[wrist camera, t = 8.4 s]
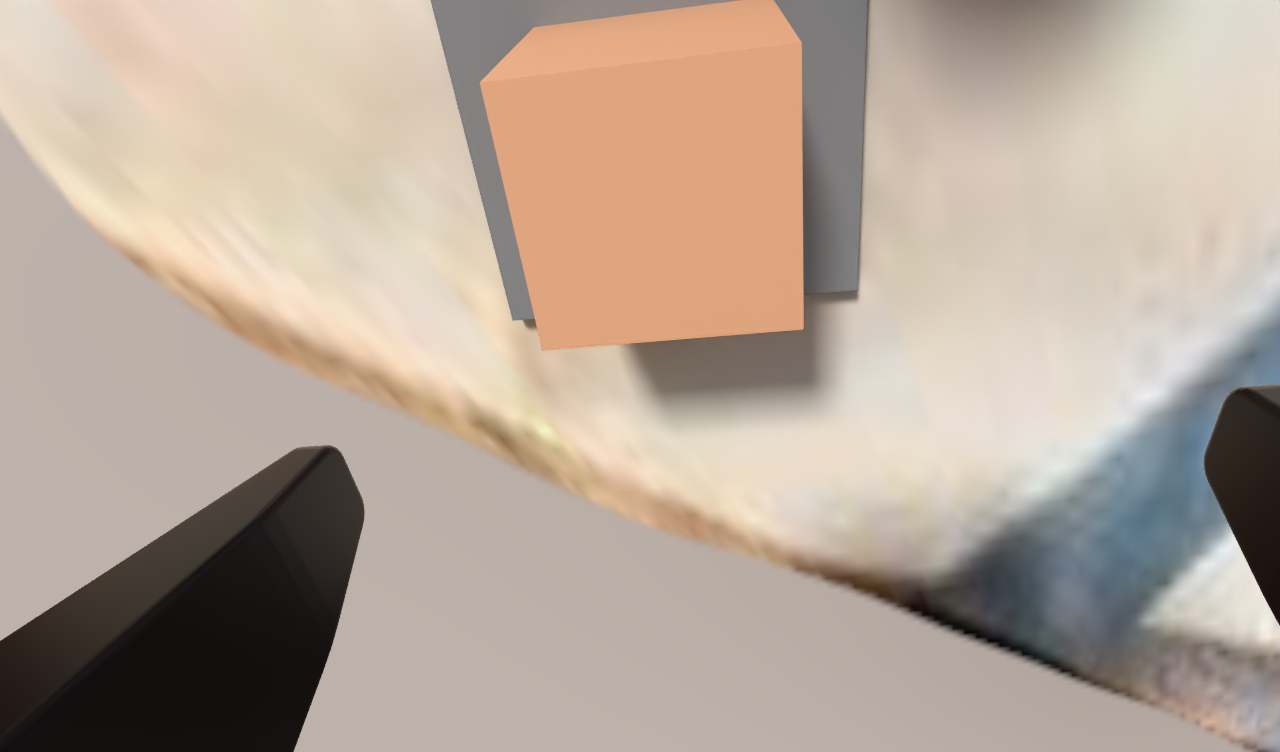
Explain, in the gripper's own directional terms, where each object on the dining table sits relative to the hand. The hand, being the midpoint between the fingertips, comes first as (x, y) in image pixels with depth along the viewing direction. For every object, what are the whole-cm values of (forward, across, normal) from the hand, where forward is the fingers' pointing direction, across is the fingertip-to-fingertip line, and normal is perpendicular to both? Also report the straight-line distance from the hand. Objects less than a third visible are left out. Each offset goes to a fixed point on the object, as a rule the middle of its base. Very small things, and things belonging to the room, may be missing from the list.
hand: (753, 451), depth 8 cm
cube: (+11, +1, 0) cm, 11 cm away
